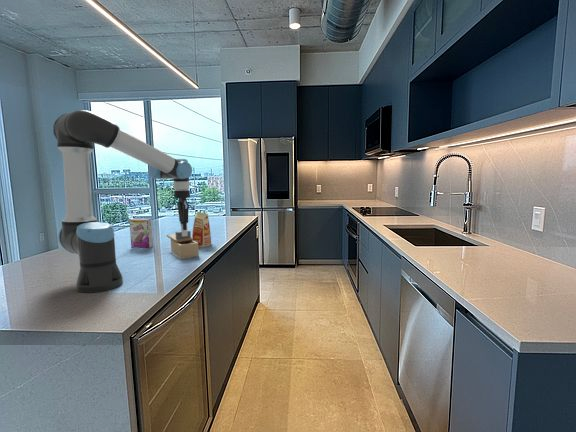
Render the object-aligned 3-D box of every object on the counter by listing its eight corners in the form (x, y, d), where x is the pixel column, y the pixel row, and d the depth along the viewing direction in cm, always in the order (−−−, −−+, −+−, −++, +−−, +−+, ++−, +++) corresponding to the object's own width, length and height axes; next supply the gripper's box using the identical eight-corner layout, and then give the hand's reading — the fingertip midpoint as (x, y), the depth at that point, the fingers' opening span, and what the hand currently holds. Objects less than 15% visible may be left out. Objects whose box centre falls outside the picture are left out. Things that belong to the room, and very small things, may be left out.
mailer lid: (175, 242, 164) (175, 233, 163) (167, 236, 179) (166, 228, 178) (193, 239, 169) (192, 231, 168) (183, 234, 184) (183, 226, 183)
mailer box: (180, 259, 158) (179, 245, 158) (171, 252, 173) (170, 239, 172) (198, 256, 163) (198, 242, 162) (188, 249, 178) (187, 237, 177)
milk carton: (191, 246, 187) (189, 212, 184) (200, 243, 195) (198, 210, 193) (205, 247, 184) (203, 212, 182) (213, 244, 193) (212, 210, 190)
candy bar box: (130, 248, 185) (128, 219, 183) (135, 246, 190) (133, 218, 188) (149, 248, 184) (147, 219, 182) (153, 246, 189) (152, 218, 186)
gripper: (193, 190, 160) (195, 237, 163) (185, 189, 171) (188, 233, 174) (177, 190, 156) (180, 238, 159) (171, 189, 167) (173, 235, 170)
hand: (184, 236), depth 166 cm, fingers closed
